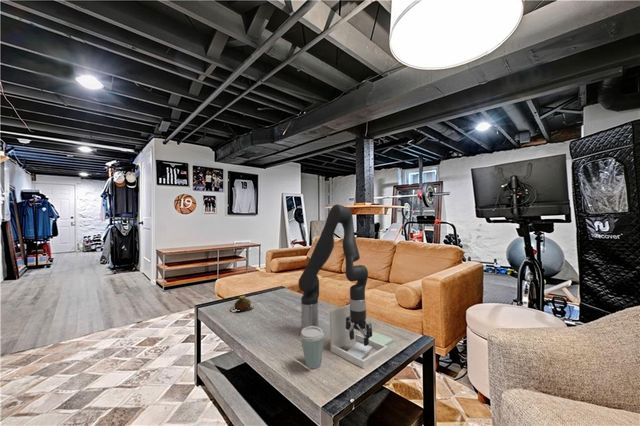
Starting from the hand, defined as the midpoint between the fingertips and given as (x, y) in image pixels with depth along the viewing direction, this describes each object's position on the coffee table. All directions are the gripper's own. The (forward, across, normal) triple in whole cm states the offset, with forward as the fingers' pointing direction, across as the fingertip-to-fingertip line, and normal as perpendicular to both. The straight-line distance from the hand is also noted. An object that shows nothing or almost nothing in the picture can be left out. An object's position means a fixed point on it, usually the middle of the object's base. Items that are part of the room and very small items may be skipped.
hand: (358, 342), depth 124 cm
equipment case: (+5, 0, 0) cm, 5 cm away
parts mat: (+5, 0, -15) cm, 16 cm away
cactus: (+5, +97, +13) cm, 98 cm away
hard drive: (+4, -2, +7) cm, 8 cm away
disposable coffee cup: (+5, +7, +22) cm, 24 cm away
